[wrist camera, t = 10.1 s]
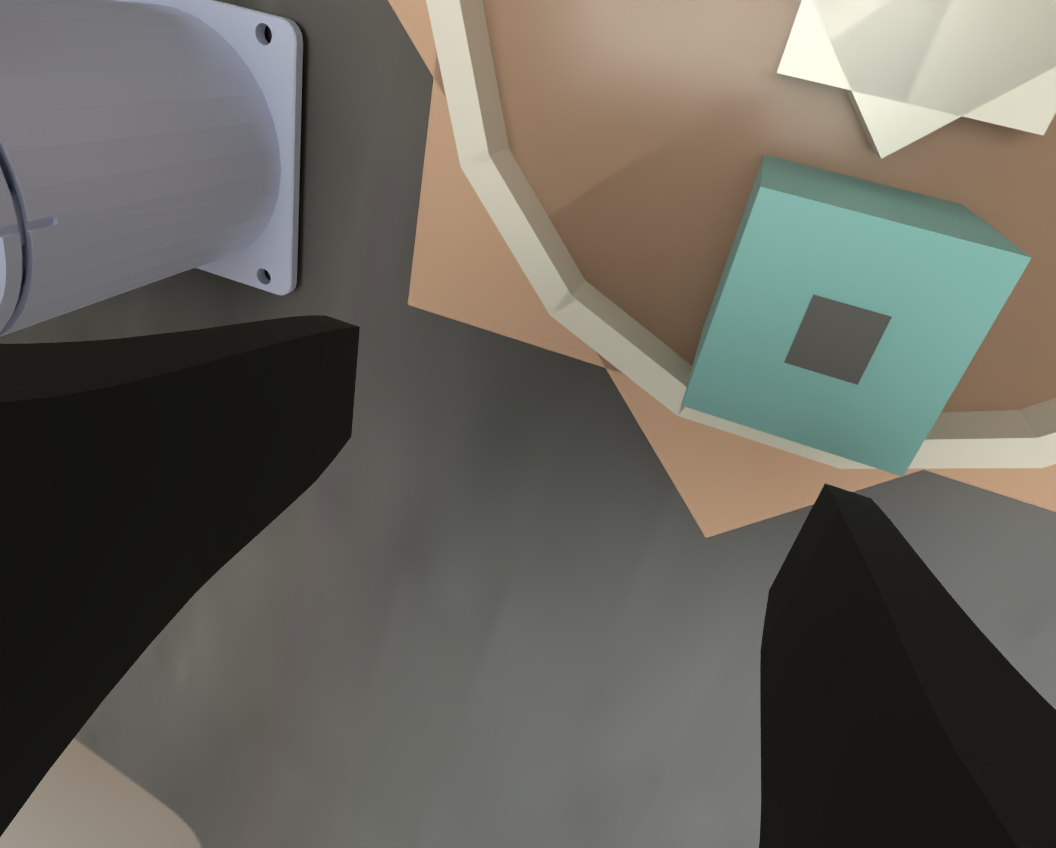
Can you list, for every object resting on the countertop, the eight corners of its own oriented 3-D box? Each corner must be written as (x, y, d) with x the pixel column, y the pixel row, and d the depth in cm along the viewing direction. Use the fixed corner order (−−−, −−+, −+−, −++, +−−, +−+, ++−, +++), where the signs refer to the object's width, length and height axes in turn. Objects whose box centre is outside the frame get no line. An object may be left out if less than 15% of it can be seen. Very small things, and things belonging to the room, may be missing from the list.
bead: (702, 327, 19) (681, 406, 14) (764, 154, 16) (760, 186, 12) (872, 379, 18) (903, 477, 14) (962, 204, 16) (1032, 258, 11)
